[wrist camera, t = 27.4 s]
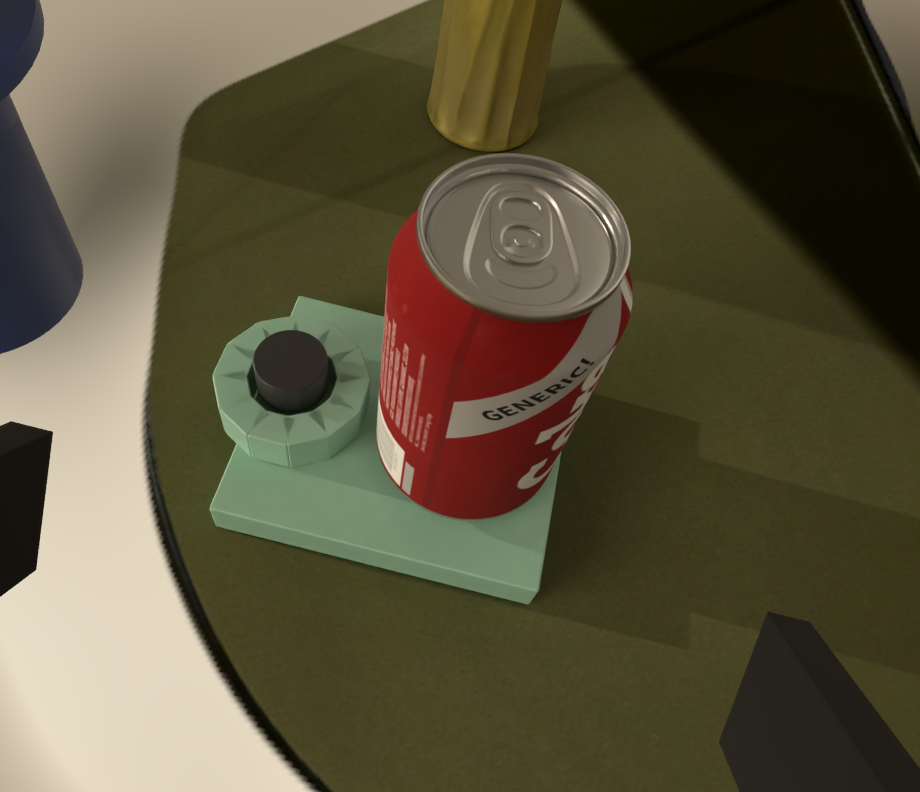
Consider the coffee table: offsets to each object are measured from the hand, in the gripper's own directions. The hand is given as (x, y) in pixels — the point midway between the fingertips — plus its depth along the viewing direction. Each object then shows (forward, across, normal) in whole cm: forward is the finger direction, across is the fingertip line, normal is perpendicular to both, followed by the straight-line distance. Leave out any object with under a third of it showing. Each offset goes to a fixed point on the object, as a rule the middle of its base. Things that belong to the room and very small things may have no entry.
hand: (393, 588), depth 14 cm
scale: (+17, -1, -3) cm, 17 cm away
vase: (+32, -2, +12) cm, 34 cm away
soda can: (+16, +1, -2) cm, 16 cm away
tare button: (+15, -6, -1) cm, 16 cm away
